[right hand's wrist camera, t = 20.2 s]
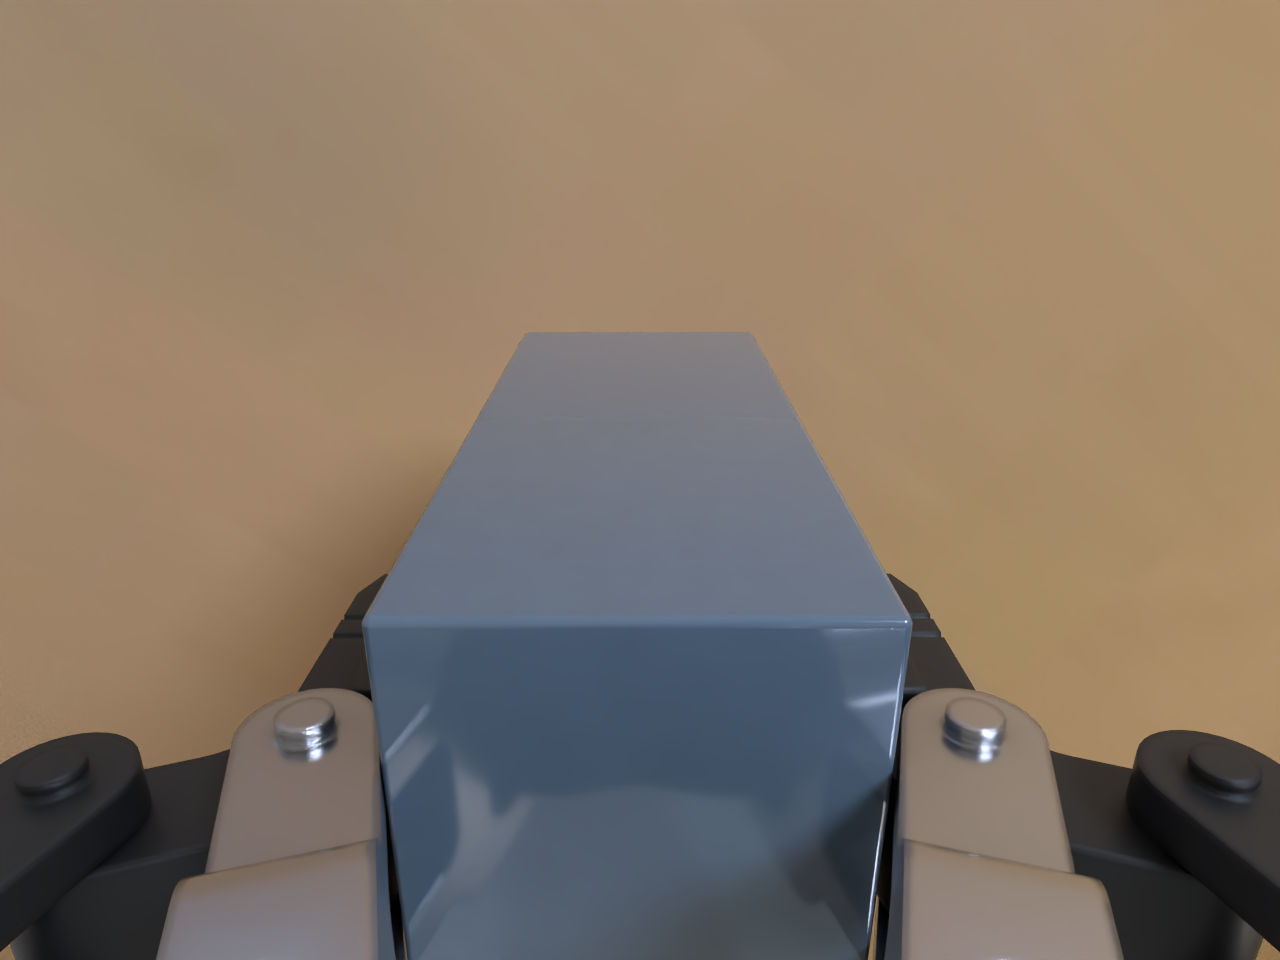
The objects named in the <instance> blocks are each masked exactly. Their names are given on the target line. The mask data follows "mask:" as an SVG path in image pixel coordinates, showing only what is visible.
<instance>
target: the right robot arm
mask: <svg viewBox="0 0 1280 960" xmlns="http://www.w3.org/2000/svg"><path fill="white" fill-rule="evenodd" d="M387 576H388V574H385V575H383V576H382V577H380V578H379V579H378V580H376V581H375V582H373V583H372V584H370V585H369V586H368V587H366V588H365V589H363V590H362V591H361V592H359V593H358V594H357V596H356V597H355V599H354V601H353V602H352V604H351V605H350V607H349V609H348V610H347V612H346V614H345V618H344V620H341V622H340V624H339V625H338V627H337V628H336V630H335V632H334V633H333V638H330V640H329V642H328V643H327V645H326V647H325V648H324V650H323V651H322V653H321V655H320V656H319V658H318V660H317V661H316V663H315V665H314V666H313V668H312V669H311V671H310V673H309V674H308V676H307V678H306V679H305V681H304V683H303V684H302V686H301V688H300V689H299V691H298V692H296V693H293V694H290V695H286V696H284V697H281V698H279V699H276V700H274V701H272V702H270V703H268V704H266V705H264V706H263V707H261V708H260V709H258V710H257V711H255V712H254V713H253V714H251V715H250V716H249V717H248V718H247V719H246V720H245V721H244V722H243V723H242V724H241V725H240V726H239V728H238V729H237V731H236V733H235V735H234V737H233V740H232V744H231V749H229V750H226V751H223V752H220V753H217V754H214V755H210V756H206V757H202V758H197V759H192V760H187V761H183V762H178V763H173V764H168V765H163V766H159V767H154V768H149V769H144V768H143V764H142V760H141V756H140V753H139V750H138V747H137V746H136V745H135V744H134V742H133V741H131V740H129V739H128V738H126V737H124V736H121V735H118V734H112V733H98V732H94V733H82V734H76V735H70V736H66V737H62V738H58V739H54V740H51V741H48V742H45V743H42V744H39V745H37V746H35V747H32V748H30V749H28V750H25V751H23V752H21V753H19V754H17V755H15V756H14V757H12V758H10V759H8V760H7V761H5V762H4V763H2V764H0V952H1V951H2V950H3V949H4V948H5V947H6V946H8V945H9V944H10V946H11V949H12V952H13V954H14V957H15V960H407V952H406V944H405V937H404V930H403V923H402V915H401V908H400V901H399V893H398V886H397V879H396V871H395V864H394V857H393V849H392V842H391V835H390V828H389V820H388V813H387V806H386V798H385V791H384V784H383V776H382V769H381V762H380V754H379V747H378V740H377V733H376V725H375V718H374V711H373V703H372V696H371V689H370V681H369V674H368V667H367V659H366V652H365V645H364V638H363V630H362V621H363V618H364V616H365V614H366V613H367V611H368V609H369V607H370V605H371V604H372V602H373V600H374V598H375V597H376V595H377V593H378V591H379V590H380V588H381V586H382V584H383V583H384V581H385V579H386V577H387ZM887 576H888V578H889V579H890V581H891V583H892V585H893V587H894V588H895V590H896V592H897V594H898V595H899V597H900V599H901V601H902V603H903V604H904V606H905V608H906V610H907V612H908V613H909V615H910V617H911V620H912V623H913V625H912V632H911V640H910V647H909V655H908V662H907V670H906V677H905V685H904V692H903V700H902V707H901V715H900V723H899V730H898V738H897V745H896V753H895V760H894V768H893V775H892V783H891V790H890V798H889V805H888V813H887V820H886V828H885V835H884V843H883V850H882V858H881V865H880V873H879V880H878V888H877V896H878V899H877V906H876V913H875V926H874V944H873V960H1256V957H1257V954H1258V951H1259V949H1260V946H1261V943H1262V940H1263V938H1264V939H1266V940H1267V941H1268V942H1269V943H1270V944H1271V945H1272V946H1273V947H1275V948H1276V949H1277V950H1278V951H1279V952H1280V764H1278V763H1277V762H1275V761H1274V760H1272V759H1270V758H1269V757H1267V756H1266V755H1264V754H1262V753H1260V752H1258V751H1256V750H1254V749H1252V748H1250V747H1248V746H1245V745H1243V744H1240V743H1238V742H1235V741H1232V740H1229V739H1227V738H1224V737H1220V736H1216V735H1212V734H1208V733H1203V732H1197V731H1187V730H1169V731H1163V732H1158V733H1155V734H1152V735H1150V736H1148V737H1147V738H1145V739H1144V740H1143V741H1142V742H1141V743H1140V744H1139V747H1138V750H1137V753H1136V757H1135V761H1134V764H1133V768H1132V769H1130V768H1125V767H1120V766H1116V765H1111V764H1106V763H1101V762H1096V761H1092V760H1087V759H1082V758H1077V757H1072V756H1068V755H1064V754H1060V753H1057V752H1054V751H1051V750H1050V749H1049V744H1048V740H1047V738H1046V735H1045V733H1044V731H1043V730H1042V728H1041V726H1040V725H1039V724H1038V723H1037V722H1036V721H1035V720H1034V719H1033V718H1032V717H1031V716H1030V715H1029V714H1027V713H1026V712H1025V711H1023V710H1022V709H1020V708H1019V707H1017V706H1016V705H1014V704H1012V703H1010V702H1008V701H1006V700H1004V699H1001V698H999V697H996V696H993V695H990V694H987V693H983V692H979V691H976V690H975V689H974V687H973V685H972V684H971V682H970V680H969V679H968V677H967V675H966V674H965V672H964V670H963V669H962V667H961V665H960V664H959V662H958V660H957V659H956V657H955V655H954V654H953V652H952V650H951V649H950V647H949V645H948V644H947V642H946V640H945V639H944V638H941V632H940V630H939V629H938V627H937V625H936V624H935V622H934V620H933V619H930V614H929V612H928V610H927V609H926V607H925V605H924V604H923V602H922V600H921V599H920V597H919V595H918V594H917V592H915V591H914V590H912V589H911V588H910V587H908V586H907V585H905V584H904V583H903V582H901V581H900V580H898V579H897V578H895V577H894V576H893V575H891V574H887Z"/></svg>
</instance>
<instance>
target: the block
mask: <svg viewBox="0 0 1280 960" xmlns="http://www.w3.org/2000/svg"><path fill="white" fill-rule="evenodd" d="M912 625H913V623H912V620H911V617H910V615H909V613H908V612H907V610H906V608H905V606H904V604H903V603H902V601H901V599H900V597H899V595H898V594H897V592H896V590H895V588H894V587H893V585H892V583H891V581H890V579H889V578H888V576H887V574H886V572H885V570H884V569H883V567H882V565H881V563H880V562H879V560H878V558H877V556H876V554H875V553H874V551H873V549H872V547H871V545H870V544H869V542H868V540H867V538H866V537H865V535H864V533H863V531H862V529H861V528H860V526H859V524H858V522H857V520H856V519H855V517H854V515H853V513H852V512H851V510H850V508H849V506H848V504H847V503H846V501H845V499H844V497H843V495H842V494H841V492H840V490H839V488H838V487H837V485H836V483H835V481H834V479H833V478H832V476H831V474H830V472H829V470H828V469H827V467H826V465H825V463H824V462H823V460H822V458H821V456H820V454H819V453H818V451H817V449H816V447H815V445H814V444H813V442H812V440H811V438H810V437H809V435H808V433H807V431H806V429H805V428H804V426H803V424H802V422H801V420H800V419H799V417H798V415H797V413H796V411H795V410H794V408H793V406H792V404H791V403H790V401H789V399H788V397H787V395H786V394H785V392H784V390H783V388H782V386H781V385H780V383H779V381H778V379H777V378H776V376H775V374H774V372H773V370H772V369H771V367H770V365H769V363H768V361H767V360H766V358H765V356H764V354H763V353H762V351H761V349H760V347H759V345H758V344H757V342H756V340H755V338H754V336H753V335H752V334H751V333H749V332H602V333H526V334H525V335H524V336H523V338H522V340H521V342H520V343H519V345H518V347H517V349H516V351H515V352H514V354H513V356H512V358H511V359H510V361H509V363H508V365H507V366H506V368H505V370H504V372H503V373H502V375H501V377H500V379H499V380H498V382H497V384H496V386H495V387H494V389H493V391H492V393H491V394H490V396H489V398H488V400H487V402H486V403H485V405H484V407H483V409H482V410H481V412H480V414H479V416H478V417H477V419H476V421H475V423H474V424H473V426H472V428H471V430H470V431H469V433H468V435H467V437H466V438H465V440H464V442H463V444H462V445H461V447H460V449H459V451H458V452H457V454H456V456H455V458H454V460H453V461H452V463H451V465H450V467H449V468H448V470H447V472H446V474H445V475H444V477H443V479H442V481H441V482H440V484H439V486H438V488H437V489H436V491H435V493H434V495H433V496H432V498H431V500H430V502H429V503H428V505H427V507H426V509H425V511H424V512H423V514H422V516H421V518H420V519H419V521H418V523H417V525H416V526H415V528H414V530H413V532H412V533H411V535H410V537H409V539H408V540H407V542H406V544H405V546H404V547H403V549H402V551H401V553H400V554H399V556H398V558H397V560H396V562H395V563H394V565H393V567H392V569H391V570H390V572H389V574H388V576H387V577H386V579H385V581H384V583H383V584H382V586H381V588H380V590H379V591H378V593H377V595H376V597H375V598H374V600H373V602H372V604H371V605H370V607H369V609H368V611H367V613H366V614H365V616H364V618H363V621H362V630H363V638H364V645H365V652H366V659H367V667H368V674H369V681H370V689H371V696H372V703H373V711H374V718H375V725H376V733H377V740H378V747H379V754H380V762H381V769H382V776H383V784H384V791H385V798H386V806H387V813H388V820H389V828H390V835H391V842H392V849H393V857H394V864H395V871H396V879H397V886H398V893H399V901H400V908H401V915H402V923H403V930H404V937H405V944H406V952H407V959H408V960H868V956H869V948H870V941H871V933H872V926H873V918H874V911H875V903H876V896H877V888H878V880H879V873H880V865H881V858H882V850H883V843H884V835H885V828H886V820H887V813H888V805H889V798H890V790H891V783H892V775H893V768H894V760H895V753H896V745H897V738H898V730H899V723H900V715H901V707H902V700H903V692H904V685H905V677H906V670H907V662H908V655H909V647H910V640H911V632H912Z"/></svg>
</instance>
